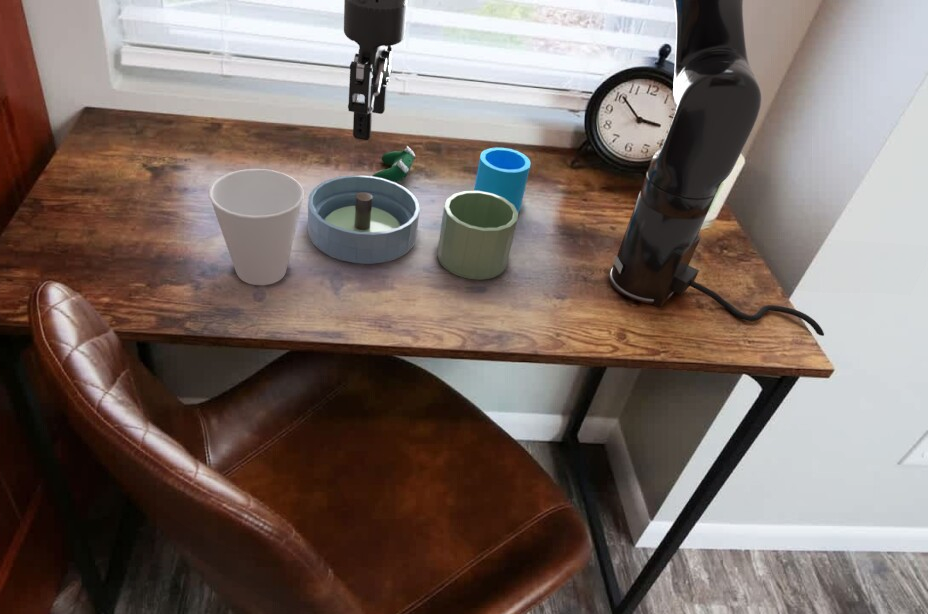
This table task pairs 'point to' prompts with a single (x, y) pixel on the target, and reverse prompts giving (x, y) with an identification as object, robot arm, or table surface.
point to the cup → (258, 221)
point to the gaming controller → (396, 165)
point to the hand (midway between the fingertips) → (369, 124)
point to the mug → (503, 174)
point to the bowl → (362, 243)
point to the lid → (362, 216)
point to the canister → (476, 234)
